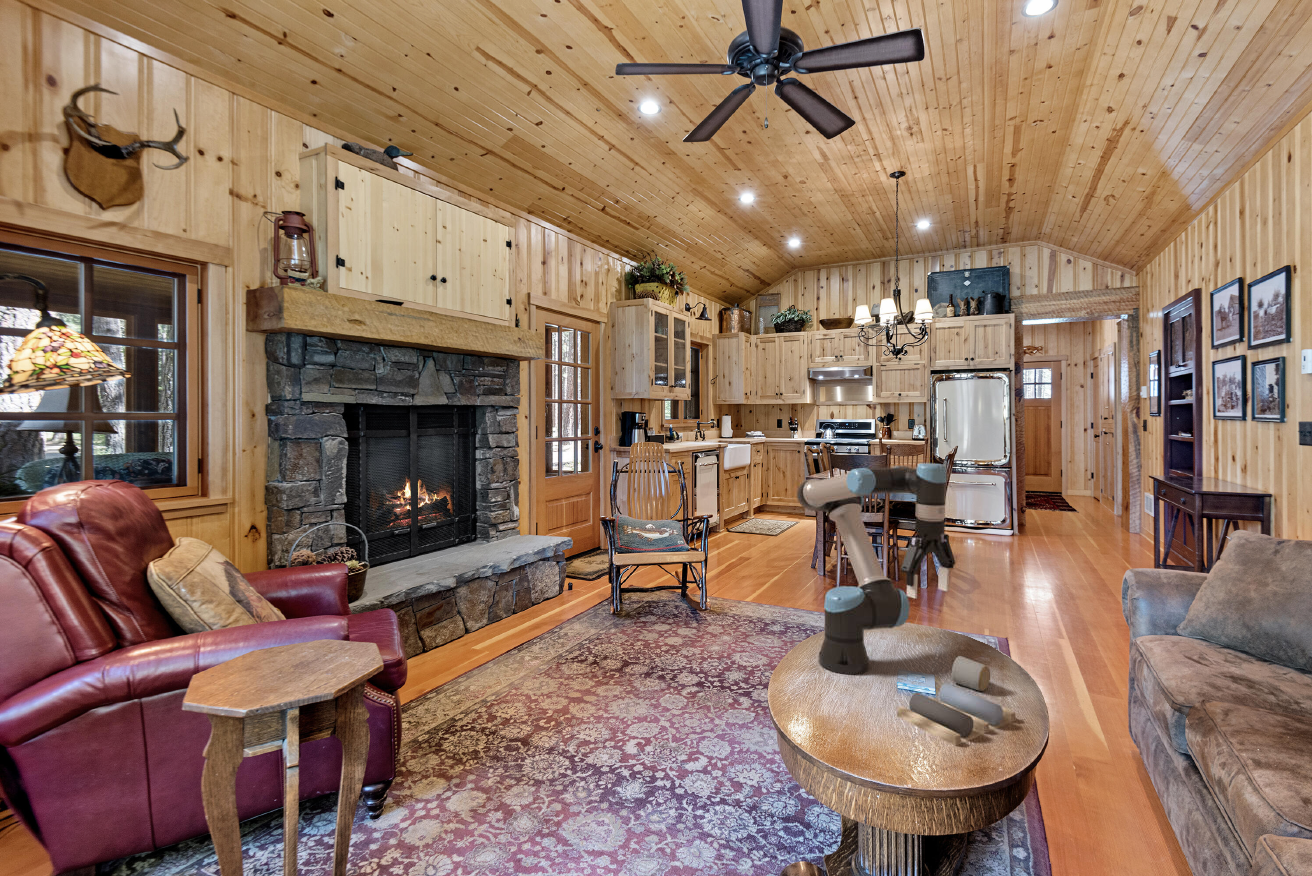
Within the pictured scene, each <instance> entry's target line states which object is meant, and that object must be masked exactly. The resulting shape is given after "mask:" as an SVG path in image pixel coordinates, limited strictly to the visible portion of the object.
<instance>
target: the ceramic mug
mask: <svg viewBox="0 0 1312 876" xmlns="http://www.w3.org/2000/svg"><path fill="white" fill-rule="evenodd" d="M951 680H952V681H953V683H955V684H958V685H961V686H964V687H966V688H970V689H972V690H973V689H974V690H976V691H981V692H982V691H985V690H987V689H988V686H989V684H990V681H991V670H990V668H989V667H988V666H986V665H985V664H983V663H981V662H977V661H976V660H975V661H974V660H973V659H970V658H967V657H965V656H962V655H959V656H957V657H956V658H955V660H954V661H953V664H952V669H951Z"/></svg>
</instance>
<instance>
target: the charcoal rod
mask: <svg viewBox="0 0 1312 876" xmlns="http://www.w3.org/2000/svg"><path fill="white" fill-rule="evenodd" d="M908 704H909V710H911V711H913V712H915V713H917V714H919V715H921V716H923V717H925V718H927V719H929V720H931V721H933V722H935V723H938V724H940V725H942V726H944V727H946V728H948V729H950V730H952V731H954V732H956V733H958V734H960V735H961V736H962V737H968V736H969V735H970V734H971V732H972V730H973V719H972V717H970V716H968V715H966V714H964V713H962V712H959V711H957V710H955V709H953V708H951V707H948V706H946V705H944V704H942V703H940V702H937V701H935V700H933V699H931V698H928V696H926V695H924V694H921V693H919V692H915V693H914V694H912V696H911V697H910V700H909V703H908Z"/></svg>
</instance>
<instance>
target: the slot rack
mask: <svg viewBox="0 0 1312 876" xmlns="http://www.w3.org/2000/svg"><path fill="white" fill-rule="evenodd" d="M927 697H928V696H927ZM928 698H931V699H933V700H935V701H937V702H940V703H942V704H944V705H946V706H948V707H951V708H953V709H955V710H957V711H959V712H962V713H964V714H966V715H968V716H970V717H972V719H973V730H972V732H971V734H970V735H969V736H968V737H962V736H961V735H960V734H958V733H956V732H954V731H952V730H950V729H948V728H946V727H944V726H942V725H940V724H938V723H935V722H933V721H931V720H929V719H927V718H925V717H923V716H921V715H919V714H917V713H915V712H913V711H911V710H910V708H909V709H908V708H906V707H904V706H902V705H901V706H899V707H897V708H896V717H897V718H900V719H902V720H904V721H906V722H907V723H910V724H912V725H914V726H915V727H917V728H919V729H922V730H924V731H925V732H928V734H931V735H933V736H935V737H937V738H939V739H940V740H942V741H945V742H947V743H948V744H950V745H952V746H954V747H957V746H958V745H962V744H963V743H965V742H968V741H970V740H973V739H974V738H977V737H978V738H979V737H980V736H982V735H985V734H987V733H990V732H991V731H994V730H997V729H999V728H1001V727H1003V726H1006V725H1009V724H1011V723H1013V722H1015V721H1016V711H1013V710H1010V709H1008V708H1005V707H1003V706H1001V707H1002V709H1003V717H1002V720H1001V722H1000V724H999V725H997V726H994V725H992V724H989V723H987V722H985V721H983V720H981V719H979V718H976V717H974V716H972V715H970V714H967V713H965V712H963V711H961V710H959V709H956V708H954V707H952V706H950V705H947V704H945V703H943V702H941V701H940V699H939V700H938V699H937V698H934V697H932V696H929V697H928Z"/></svg>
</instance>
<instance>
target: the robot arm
mask: <svg viewBox="0 0 1312 876" xmlns="http://www.w3.org/2000/svg"><path fill="white" fill-rule="evenodd" d="M947 481H948V478H947V467H946V465H944V464H941V463H933V462H932V463H931V462H930V463H929V462H928V463H927V462H926V463H925V462H923V463H922V462H921V463H918V464H917V467H916V468H913V467H908V466H905V465H903V466H901V465H899V466H898V465H896V466H893V467H881V468H880V467H878V468H876V467H875V468H872V467H871V468H870V467H869V468H868V467H867V468H866V467H859V468H853V469H851V470H850V471H849V472H847V473H845V474H840V475H837V476H836V475H835V476H832V477H829V478H827V477H826V478H825V477H823V478H811V479H810V478H809V479H806V480H804V481H803V482H802V483H801V484H799V486H798V488H797V491H796V497H797V501H798V502H799V504H800V505H801V506H802V507H803V508H804V509H806V510H808V511H811V512H826V513H827V515H828V517H829V518H828V519H830V520H831V521H833V522H835V524H836V527H837V530H838V532H839V535H840V538H841V540H842V544H843V546H844V548H845V551H846V554H847V556H848V559H849V561H850V565H851V567H852V569H853V572H854V575H855V577H856V579H857V584H858V585H857V586H852V585H850V586H845V585H842V586H841V585H840V586H837V587H833V588H831V589H829V590H827V592H826V593H825V596H824V597H825V598H824V604H823V606H824V607H823V608H824V638H823V642H822V644H821V648H820V651H819V653H818V663H819V665H820V666H821V667H822V668H824V669H826V670H828V671H831V672H834V673H839V674H844V675H845V674H846V675H858V674H863V673H866V672H868V671H869V670H870V668H871V667H870V663H871V662H870V658H869V656H868V653H867V649H866V646H865V642H864V641H865V640H864V638H865V637H864V636H865V631H870V630H880V629H893V628H896V627H901V626H903V625H904V624H905V623H907V621H908V619H909V616H910V615H909V614H910V602H909V598H913V599H918V575H919V574H917V572H918V570H919V568H920V566H921V563H922V562H923V560H924V559H925V556H928V554H930V553H933V554H934V555H935V557H936V559H937V561H938V563H939V564H940V566H938V580H937V582H938V583H937V585H938V587H937V590H941V591H944V592H948V591H949V586H950V585H949V583H950V582H949V580H950V569H952V570H953V569H954V565H956V561H955V557H954V555H953V550H952V548H951V543H950V536H949V534H948V533H947V534H946V533H945V532H946V530H945V529H946V522H945V520H944V519H945V518H946V501H947V499H946V498H947ZM879 494H885V495H886V494H909V495H910V494H911V495H913V496H914V495H915V496H916V499H915V517H916V518H915V521H914V523H915V527H914V529H915V532H916V533H917V534H918V535H917V538H916V537H914V536H913V537H912V536H910V538H909V544H908V547H907V551H906V553H905V556H904V559H903V562H902V565H901V568H900V571H901V572H902V573H905V574H906V579H905V580H906V582H905V583H906V593H905V591H904V590H903V589H900V588H898V587H895V584H894V582H893V580H892V579H890V578H888V577H886V576H885V574H884V571H883V568H882V565H881V564H880V560H879V559H878V557H877V554H876V551H875V548H874V546H873V544H872V542H871V539H870V536H869V534H868V531H867V529H866V526H865V524H864V521H863V519H862V516H861V512H862V510H863V505H864V503H865V502H864V501H865V498H864V496H869V495H879Z"/></svg>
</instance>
